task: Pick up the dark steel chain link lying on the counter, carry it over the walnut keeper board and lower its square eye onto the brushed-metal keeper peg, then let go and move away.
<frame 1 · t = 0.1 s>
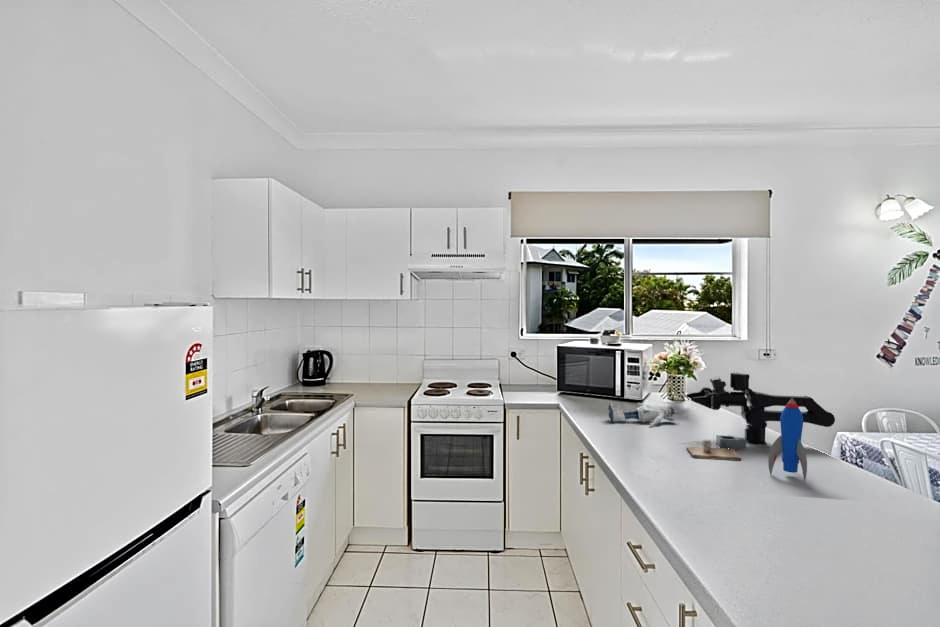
hand: (688, 397, 234), 17 cm above the table, tool horizontal, fingers open, 9 cm apart
link: (727, 446, 222), on the table
keeper board: (712, 454, 211), on the table
toy rocket: (784, 476, 186), on the table
toy: (642, 422, 265), on the table
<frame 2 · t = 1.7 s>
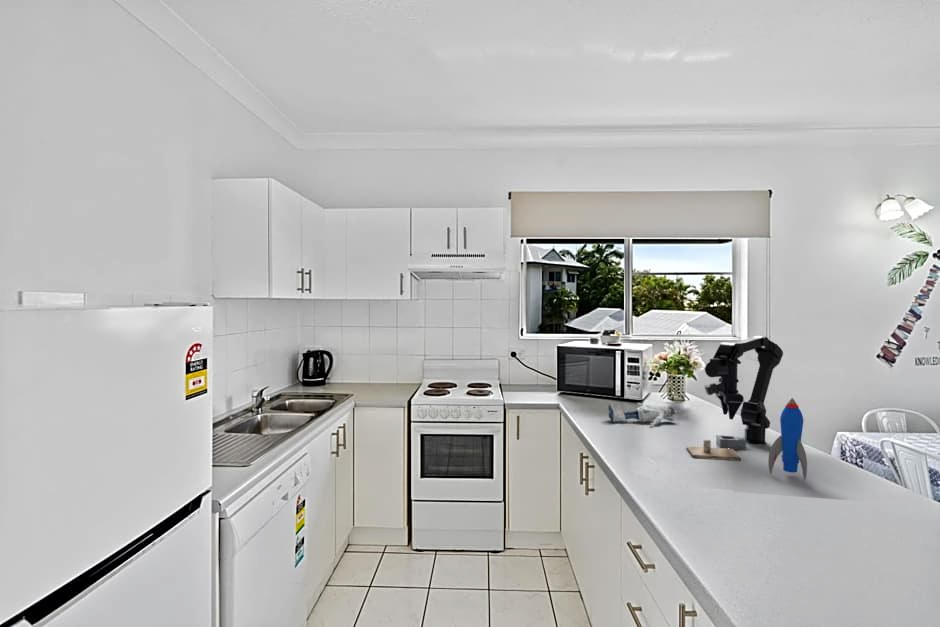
hand: (728, 416, 222), 11 cm above the table, tool pointing down, fingers open, 9 cm apart
nothing on the table moved.
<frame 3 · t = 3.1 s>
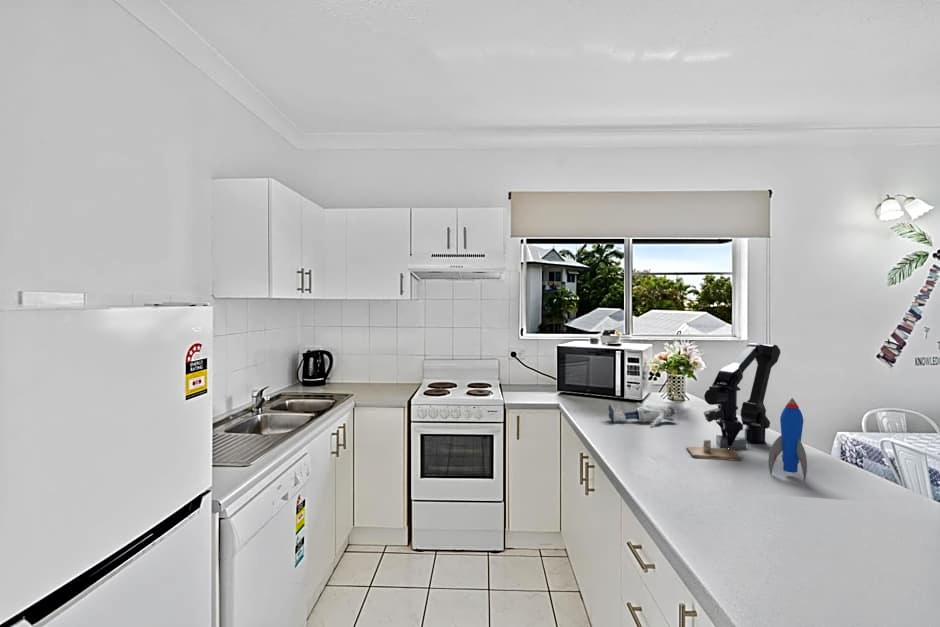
hand: (727, 443, 222), 1 cm above the table, tool pointing down, fingers closed on link, 7 cm apart
link: (727, 446, 222), on the table, touching gripper
everything else where it was.
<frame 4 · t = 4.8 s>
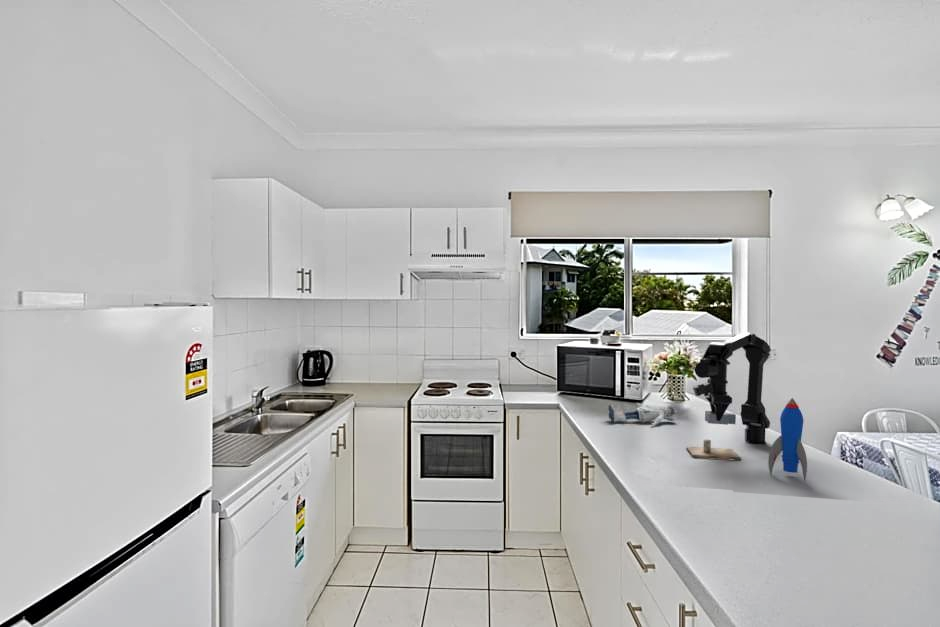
hand: (716, 419, 215), 12 cm above the table, tool pointing down, fingers closed on link, 7 cm apart
link: (716, 422, 216), point 11 cm above the table, touching gripper
everything else where it was.
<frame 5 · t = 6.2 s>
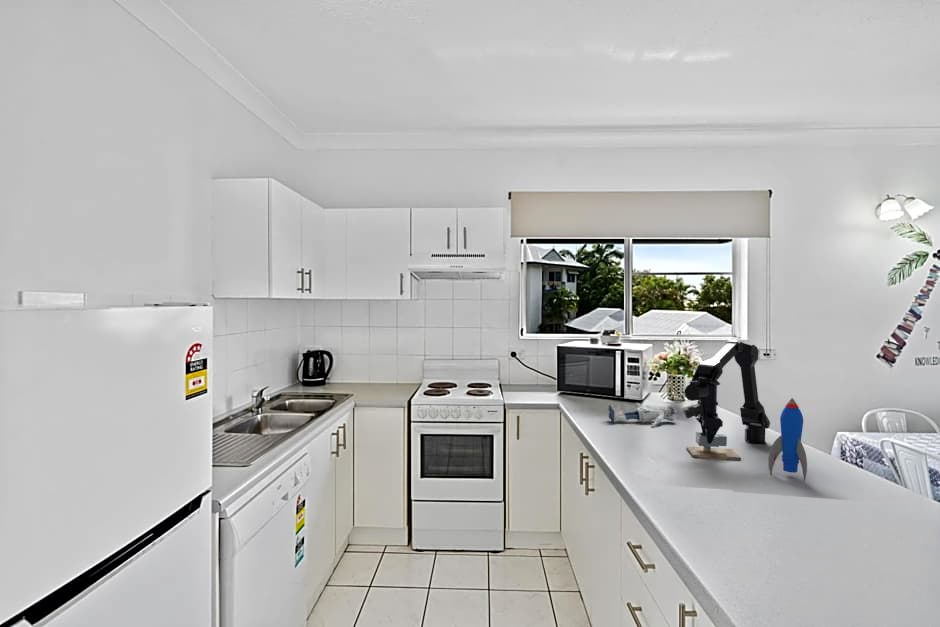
hand: (707, 441, 211), 5 cm above the table, tool pointing down, fingers closed on link, 7 cm apart
link: (707, 444, 211), point 4 cm above the table, touching gripper
everything else where it was.
when the fingers open (3 cm above the table, at t = 6.9 s): link drops 1 cm, resting on keeper board.
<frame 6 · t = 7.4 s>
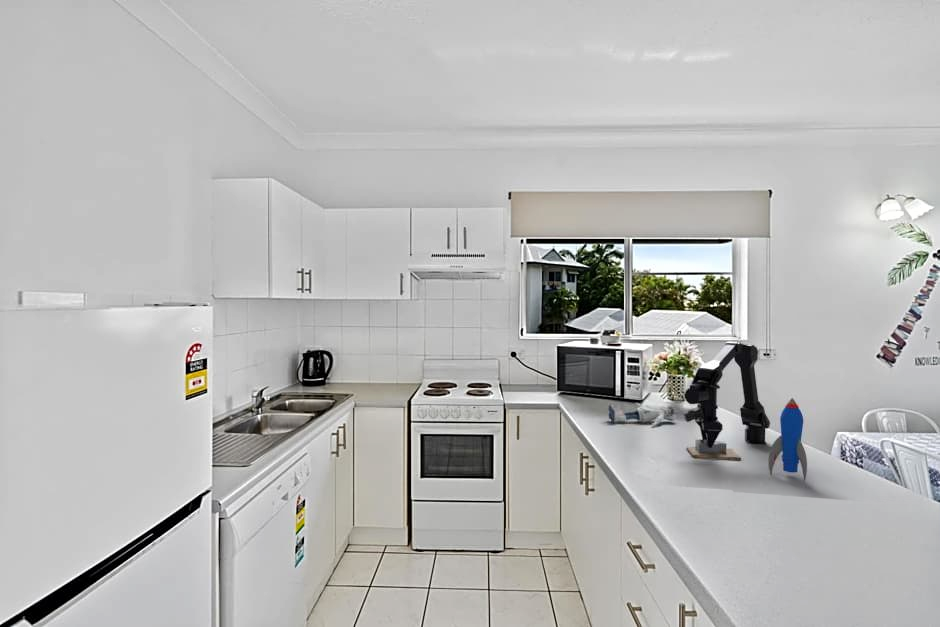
hand: (707, 444, 211), 3 cm above the table, tool pointing down, fingers open, 9 cm apart
link: (706, 451, 211), point 1 cm above the table, touching keeper board
everything else where it was.
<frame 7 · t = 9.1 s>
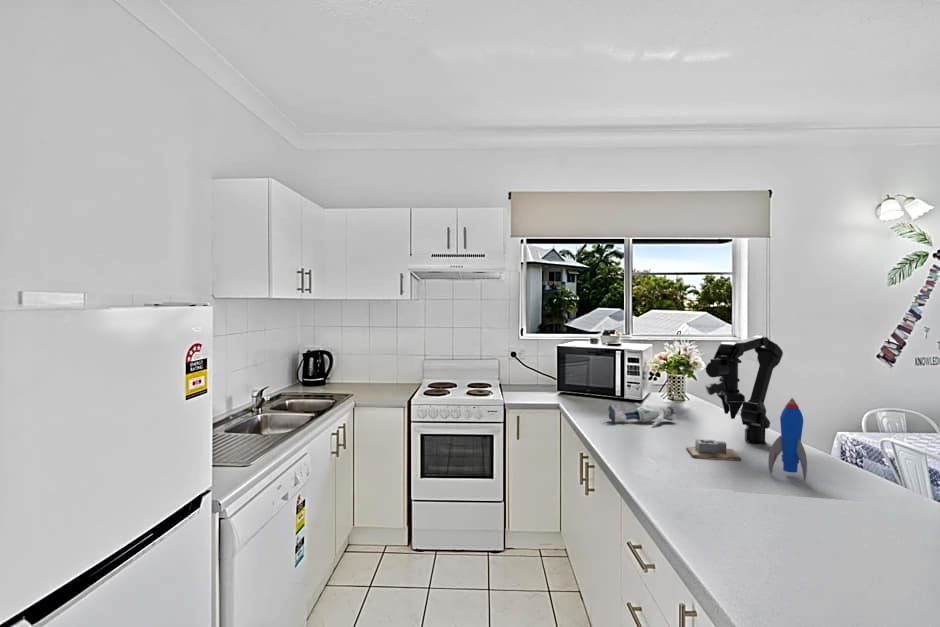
hand: (729, 416, 222), 12 cm above the table, tool pointing down, fingers open, 9 cm apart
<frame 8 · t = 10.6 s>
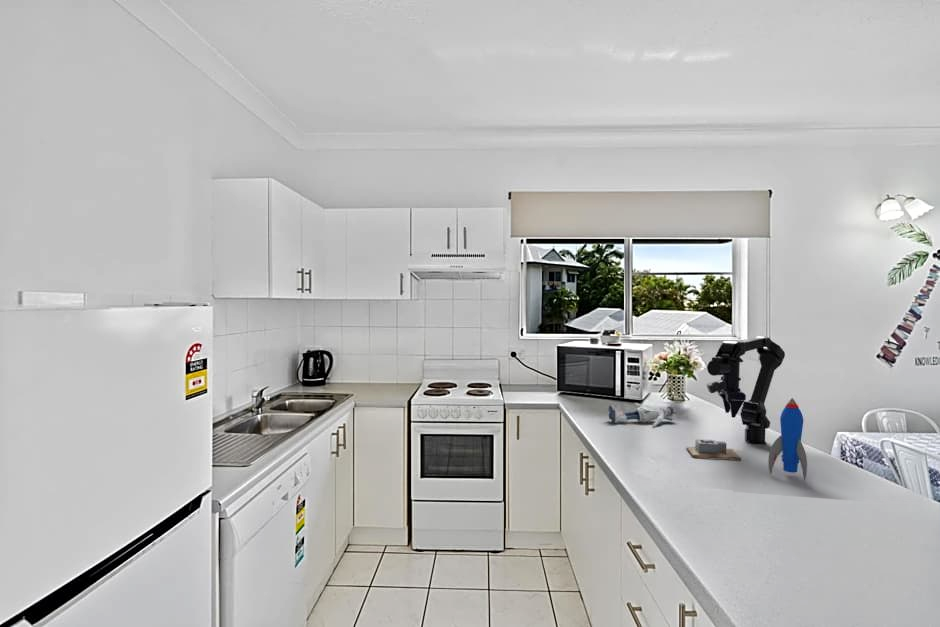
hand: (730, 415, 222), 12 cm above the table, tool pointing down, fingers open, 9 cm apart
at the end: link 0.1 cm from the target spot, point 1.0 cm above the table; the gripper is holding nothing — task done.
